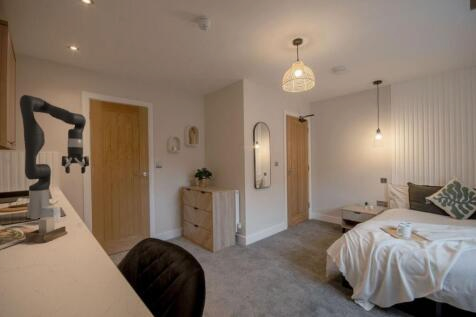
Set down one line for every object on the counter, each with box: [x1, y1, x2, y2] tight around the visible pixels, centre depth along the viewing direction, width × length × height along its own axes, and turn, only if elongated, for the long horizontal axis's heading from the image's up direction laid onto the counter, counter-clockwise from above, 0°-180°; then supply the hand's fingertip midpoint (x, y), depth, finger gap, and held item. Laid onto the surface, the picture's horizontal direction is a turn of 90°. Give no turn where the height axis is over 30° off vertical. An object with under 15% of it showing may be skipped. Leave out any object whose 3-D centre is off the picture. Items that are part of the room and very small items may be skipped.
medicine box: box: [41, 205, 61, 224], centre depth 126 cm, size 8×4×9 cm, turn 84°
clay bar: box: [38, 217, 56, 234], centre depth 103 cm, size 4×4×8 cm
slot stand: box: [23, 226, 68, 244], centre depth 103 cm, size 11×11×4 cm
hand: (75, 173), depth 130 cm, fingers open, 8 cm apart
